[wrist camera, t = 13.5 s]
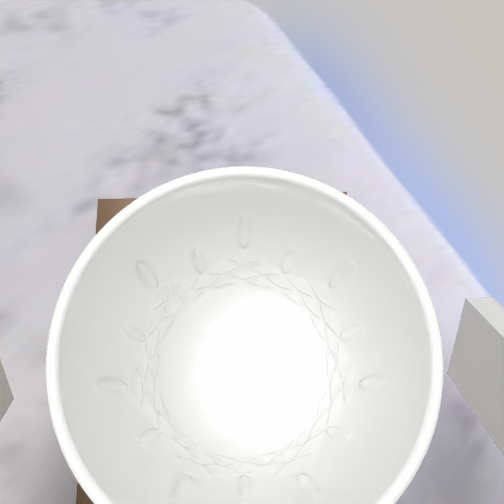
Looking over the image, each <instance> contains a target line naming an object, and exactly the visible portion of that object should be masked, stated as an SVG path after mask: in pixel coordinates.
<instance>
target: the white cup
mask: <svg viewBox="0 0 504 504" xmlns="http://www.w3.org/2000/svg"><path fill="white" fill-rule="evenodd" d="M443 373H444V365H443V349H442V341H441V334H440V329H439V324H438V320H437V316H436V312H435V309H434V306H433V303H432V300H431V297H430V295H429V292H428V290H427V287H426V285H425V283H424V281H423V279H422V277H421V275H420V273H419V271H418V269H417V267H416V266H415V264H414V262H413V261H412V259H411V257H410V256H409V254H408V253H407V252H406V250H405V249H404V247H403V246H402V245H401V243H400V242H399V241H398V240H397V238H396V237H395V236H394V235H393V234H392V233H391V231H390V230H389V229H388V228H387V227H386V226H385V225H384V224H383V223H382V222H381V221H380V220H379V219H378V218H377V217H375V216H374V215H373V214H372V213H371V212H370V211H368V210H367V209H366V208H365V207H363V206H362V205H361V204H359V203H358V202H357V201H355V200H354V199H352V198H351V197H349V196H347V195H346V194H344V193H342V192H341V191H339V190H337V189H335V188H333V187H331V186H329V185H327V184H325V183H322V182H320V181H318V180H315V179H313V178H310V177H307V176H304V175H301V174H297V173H293V172H289V171H285V170H280V169H274V168H266V167H252V166H237V167H224V168H216V169H210V170H205V171H200V172H196V173H193V174H189V175H186V176H183V177H180V178H177V179H175V180H172V181H170V182H167V183H165V184H163V185H161V186H159V187H157V188H155V189H153V190H151V191H149V192H147V193H146V194H144V195H142V196H141V197H139V198H138V199H136V200H135V201H133V202H132V203H130V204H129V205H128V206H126V207H125V208H124V209H122V210H121V211H120V212H119V213H118V214H116V215H115V216H114V217H113V218H112V219H111V220H110V221H109V222H108V223H107V224H106V225H105V226H104V227H103V228H102V229H101V230H100V231H99V232H98V233H97V234H96V235H95V237H94V238H93V239H92V240H91V241H90V243H89V244H88V245H87V247H86V248H85V249H84V251H83V252H82V254H81V255H80V257H79V258H78V260H77V261H76V263H75V265H74V266H73V268H72V270H71V272H70V274H69V276H68V278H67V280H66V282H65V284H64V286H63V288H62V291H61V293H60V296H59V298H58V301H57V304H56V307H55V310H54V314H53V317H52V321H51V326H50V331H49V336H48V343H47V352H46V389H47V398H48V405H49V410H50V415H51V420H52V424H53V427H54V431H55V434H56V437H57V440H58V443H59V445H60V448H61V450H62V453H63V455H64V457H65V459H66V461H67V463H68V465H69V467H70V469H71V471H72V473H73V474H74V476H75V478H76V479H77V481H78V483H79V484H80V486H81V487H82V489H83V490H84V491H85V493H86V494H87V495H88V497H89V498H90V499H91V501H92V502H93V503H94V504H395V503H396V502H397V500H398V499H399V498H400V497H401V495H402V494H403V493H404V491H405V490H406V488H407V487H408V486H409V484H410V483H411V481H412V479H413V478H414V476H415V474H416V473H417V471H418V469H419V467H420V465H421V463H422V461H423V459H424V457H425V455H426V453H427V450H428V448H429V445H430V443H431V440H432V437H433V434H434V431H435V427H436V424H437V420H438V416H439V411H440V405H441V399H442V391H443Z"/></svg>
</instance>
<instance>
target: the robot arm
mask: <svg viewBox="0 0 504 504" xmlns="http://www.w3.org/2000/svg"><path fill="white" fill-rule="evenodd" d="M447 374H448V375H449V377H450V378H451V380H452V381H453V383H454V384H455V386H456V387H457V389H458V390H459V391H460V393H461V394H462V396H463V397H464V399H465V400H466V402H467V403H468V405H469V406H470V407H471V409H472V410H473V412H474V413H475V415H476V416H477V418H478V419H479V420H480V422H481V423H482V425H483V426H484V428H485V429H486V431H487V432H488V434H489V435H490V436H491V438H492V439H493V441H494V442H495V444H496V445H497V447H498V448H499V450H500V451H501V452H502V454H503V455H504V308H503V307H502V306H501V305H500V304H499V303H498V302H497V301H496V300H495V299H494V298H492V297H482V298H466V299H465V303H464V307H463V311H462V315H461V320H460V324H459V328H458V332H457V336H456V340H455V344H454V348H453V352H452V356H451V361H450V365H449V369H448V373H447ZM13 399H14V398H13V395H12V392H11V389H10V387H9V384H8V381H7V378H6V375H5V372H4V369H3V366H2V364H1V361H0V421H1V419H2V418H3V416H4V414H5V413H6V411H7V409H8V407H9V406H10V404H11V402H12V401H13Z"/></svg>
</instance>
